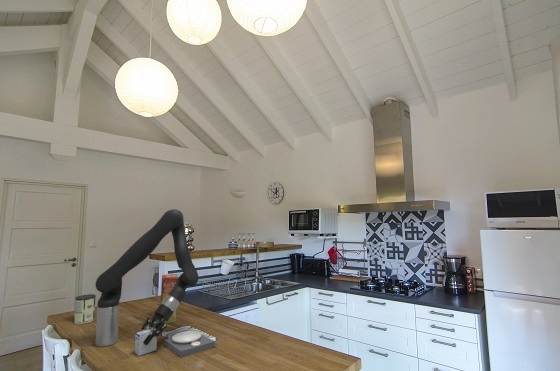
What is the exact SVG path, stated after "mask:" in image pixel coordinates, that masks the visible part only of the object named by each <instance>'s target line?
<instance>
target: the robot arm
mask: <svg viewBox="0 0 560 371" xmlns="http://www.w3.org/2000/svg"><path fill="white" fill-rule="evenodd" d="M184 221H185V220H184V215H183V213H182V212H181V211H180V210H179V209H169V210H167V211H166V212H164V213H163V215H162V216H161V217H160V218H159V220H158V221H157V222H156V223H155V224H154V226H152V227H151V228H150V229H149V230H148V231H146V232H145V233H144V234H143V235H142V236H140V237H139V238H138V239H137V240H136V241H134V243H133V244H132V245H131V246H129V248H128V249H127V250H126V251H125V252H124V253H123V254H122V255H121V256H120V258H118V260H117V261H115V263H113V264H112V265H111V266H110V267H109V268H107V269H106V270H105V271H103V272H102V273H101V274H100V275H99V276H98V277H97V278H96V281H95V289H96V290H97V291H98V292H99V293H100V294H101V295H100V297H99V299H98V300H97V305H96V308H97V309H96V323H95V324H96V326H95V328H96V329H95V347H100V348H101V347H107V346H108V347H109V346H112V345H114V344H116V343H118V340H119V339H118V336H119V335H118V334H119V333H118V332H119V314H120V313H119V312H120V300H121V298H122V289H123V288H122V287H123V278H124V276H125V275H126V274H127V273H129V272H130V271H131V270H132V269H135V268H136V267H137V266H138V265H139V264H141V263H142V262H143V261H144V260H146V259H147V258H148V257H149V256H150V255H151V254H152V253H153V252H154V251H155V249H157V247H158V246H159V245H160V243H161V242H162V240H163V239H164V238H165V237H166V236H167V235H168V234H169V233H171V236H172V240H173V247H174V255H175V260H176V264H177V267H178V268H179V269H180V270H181V271H182V273H181V274H180V275H179V276H178V279H177V281H176V283H175V286H174V288H173V289H172V290H171V292H170V293H169V294H168V296H167V297H166V298H165V299H164V300H163V301H162V303H161V302H160V303H161V304H159V305H158V307H157V308H156V309H155V310H154V316H152V317H147V318H146V320H145V322H144V323H143V325H142V327H141V331H145V330H148V329H152V330H151V332H150V335H148V336H147V338H146V339H145V340H144V342H143V343H144V344H145V345H148V344H149V342H150V341H151V340H152V338H153V337H155V336H156V337H157V338H158V337H159V336H160V335H161V334H162V333H163V331H164V330H165V329H166V328H168V325H167V323H165V321H168V320H169V319H170V317H171V316H172V315H173V313H174V312H175V310H176V309H177V310H178V307H179V305H180V304H181V303H182V301H183V300H184V298H185V296H186V294H187V292H186V290H187V288H188V287H194V286H196V285H197V284H198V283H199V273H198V271H197V268H196V267H195V264H194V263H193V259H192V256H191V253H190V252H191V251H190V248H189V245H188V240H187V238H186V237H187V236H186V232H185V222H184Z"/></svg>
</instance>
